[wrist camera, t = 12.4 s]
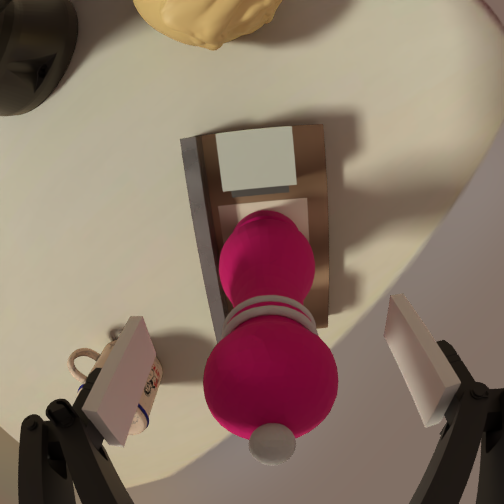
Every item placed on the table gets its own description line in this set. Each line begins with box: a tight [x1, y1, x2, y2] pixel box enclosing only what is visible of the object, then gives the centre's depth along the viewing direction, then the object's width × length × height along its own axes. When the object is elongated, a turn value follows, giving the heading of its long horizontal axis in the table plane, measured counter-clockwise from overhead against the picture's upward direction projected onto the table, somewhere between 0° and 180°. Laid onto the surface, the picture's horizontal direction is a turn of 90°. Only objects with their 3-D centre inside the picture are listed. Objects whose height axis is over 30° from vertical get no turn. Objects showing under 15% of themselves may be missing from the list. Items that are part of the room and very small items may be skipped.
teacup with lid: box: [67, 340, 163, 435], centre depth 31 cm, size 12×9×12 cm
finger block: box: [215, 126, 297, 198], centre depth 22 cm, size 5×5×5 cm
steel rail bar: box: [180, 136, 229, 344], centre depth 27 cm, size 20×1×2 cm, turn 6°
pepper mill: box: [203, 210, 338, 465], centre depth 18 cm, size 7×7×20 cm
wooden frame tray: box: [201, 124, 329, 329], centre depth 28 cm, size 20×11×2 cm, turn 6°
